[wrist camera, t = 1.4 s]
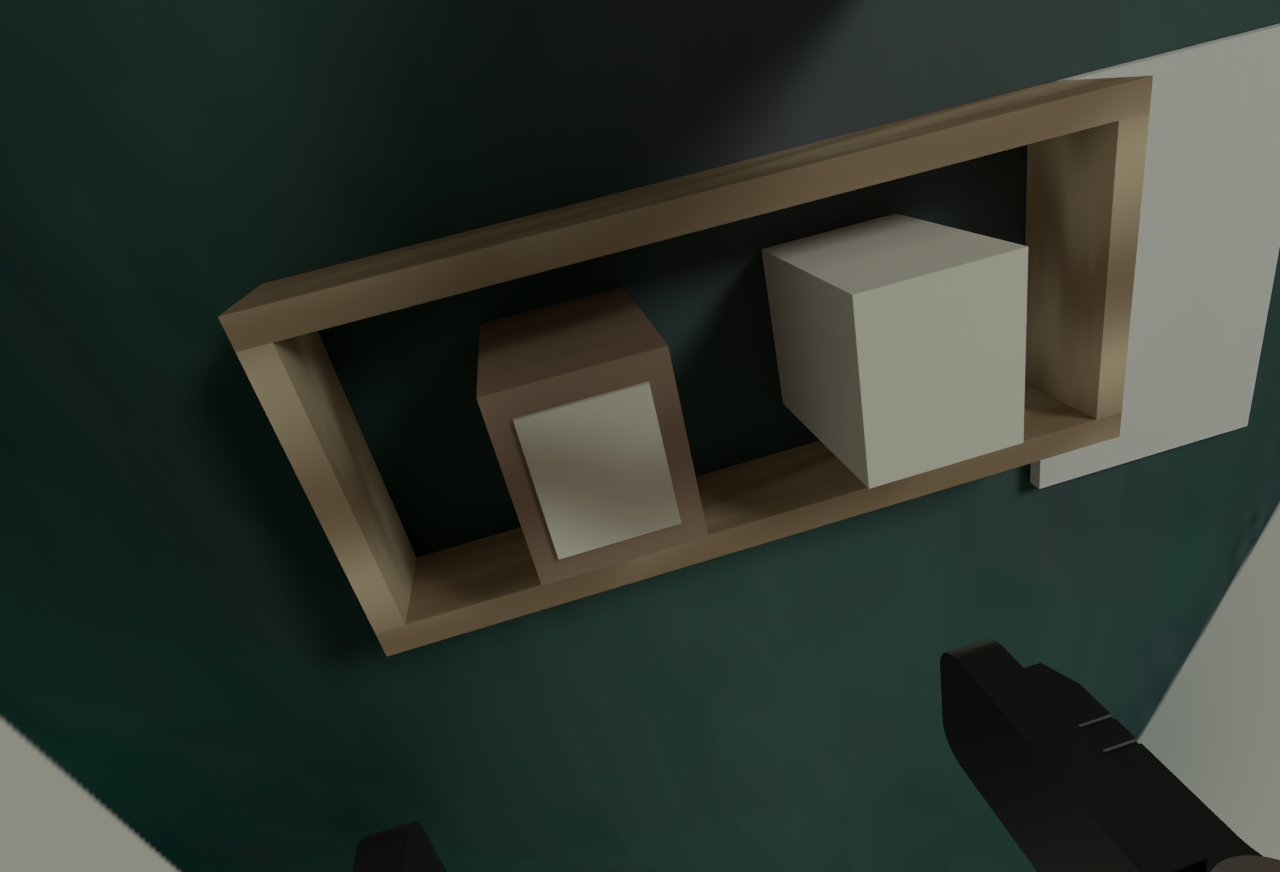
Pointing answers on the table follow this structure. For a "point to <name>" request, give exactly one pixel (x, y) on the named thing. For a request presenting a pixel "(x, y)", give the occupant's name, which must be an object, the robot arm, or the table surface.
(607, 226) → the bin
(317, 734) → the table surface
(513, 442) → the walnut block
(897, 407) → the cream block
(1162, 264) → the pad
